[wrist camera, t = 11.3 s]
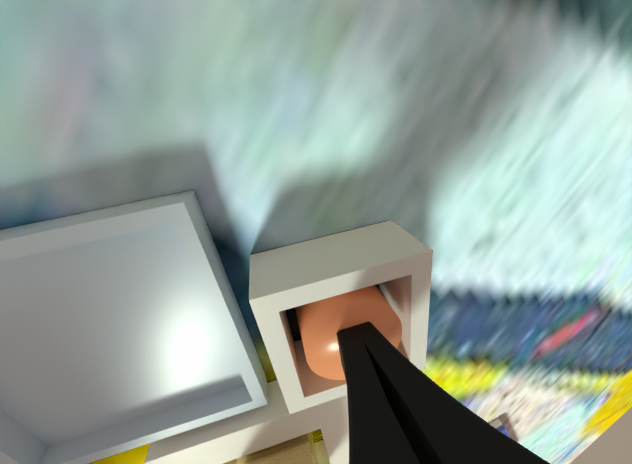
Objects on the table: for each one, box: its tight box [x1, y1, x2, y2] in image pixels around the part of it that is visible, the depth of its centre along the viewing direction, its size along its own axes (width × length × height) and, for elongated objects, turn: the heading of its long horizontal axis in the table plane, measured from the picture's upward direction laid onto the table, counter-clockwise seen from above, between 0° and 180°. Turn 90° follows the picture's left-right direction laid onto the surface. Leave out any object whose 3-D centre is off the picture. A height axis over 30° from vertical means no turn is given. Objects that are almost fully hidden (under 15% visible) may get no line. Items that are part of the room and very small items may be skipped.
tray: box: [0, 190, 268, 464], centre depth 10 cm, size 11×11×2 cm
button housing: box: [249, 220, 433, 414], centre depth 11 cm, size 7×7×3 cm
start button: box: [295, 285, 402, 380], centre depth 11 cm, size 4×4×3 cm
